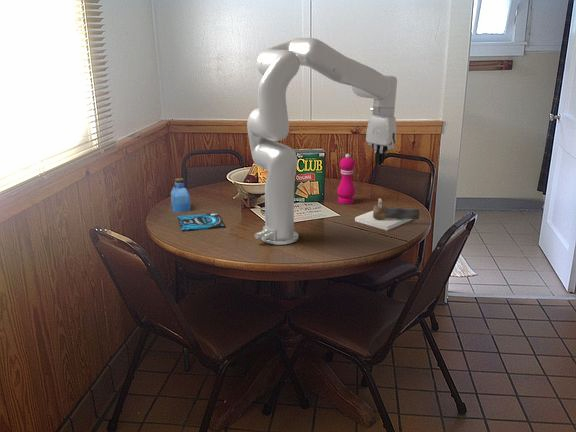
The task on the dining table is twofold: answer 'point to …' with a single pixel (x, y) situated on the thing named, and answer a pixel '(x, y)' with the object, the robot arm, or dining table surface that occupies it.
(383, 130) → the robot arm
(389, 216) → the brown grey handled piece
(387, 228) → the dial board
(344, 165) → the pepper mill
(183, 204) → the perfume bottle
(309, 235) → the dining table surface
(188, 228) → the guitar string package
